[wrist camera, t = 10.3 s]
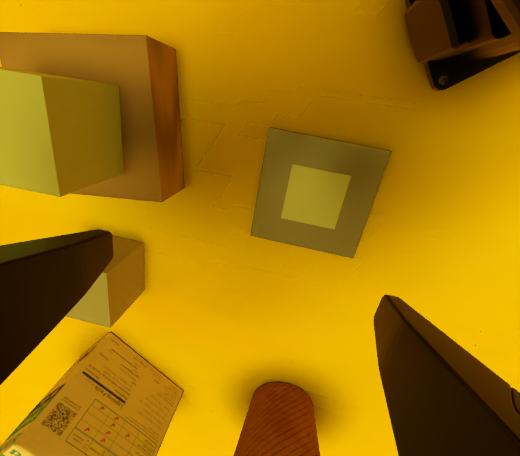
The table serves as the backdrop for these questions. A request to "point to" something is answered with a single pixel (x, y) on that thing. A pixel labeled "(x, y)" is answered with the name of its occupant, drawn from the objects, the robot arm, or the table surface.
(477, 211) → the table surface
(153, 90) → the walnut block
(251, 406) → the disposable coffee cup
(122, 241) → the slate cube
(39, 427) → the light bulb box
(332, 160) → the swatch card
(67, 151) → the sage cube
